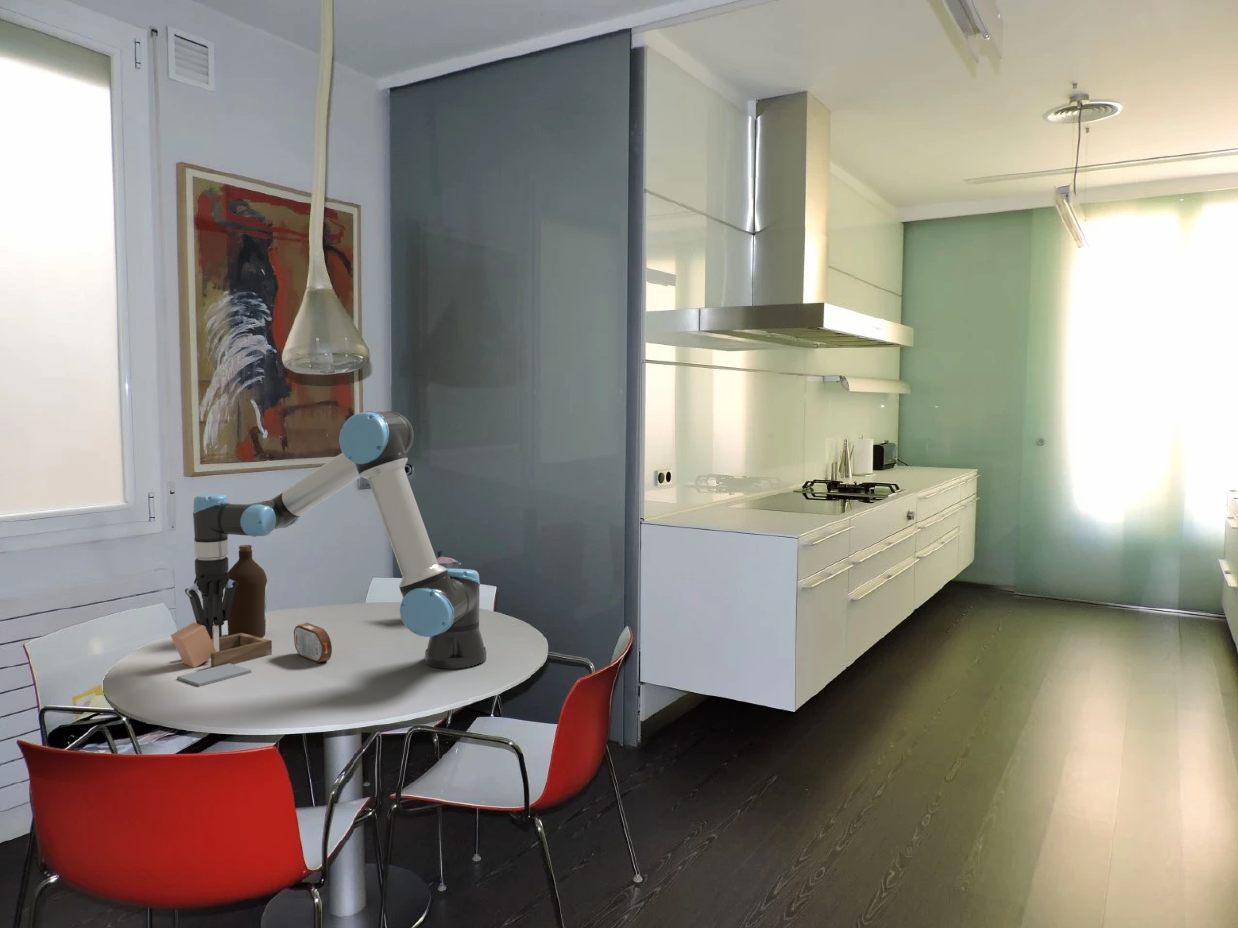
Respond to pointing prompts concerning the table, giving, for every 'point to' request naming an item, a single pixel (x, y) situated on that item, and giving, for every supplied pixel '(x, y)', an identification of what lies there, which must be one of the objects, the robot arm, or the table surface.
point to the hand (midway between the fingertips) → (213, 650)
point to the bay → (240, 649)
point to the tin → (312, 642)
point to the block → (193, 644)
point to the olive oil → (248, 596)
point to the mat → (213, 674)
